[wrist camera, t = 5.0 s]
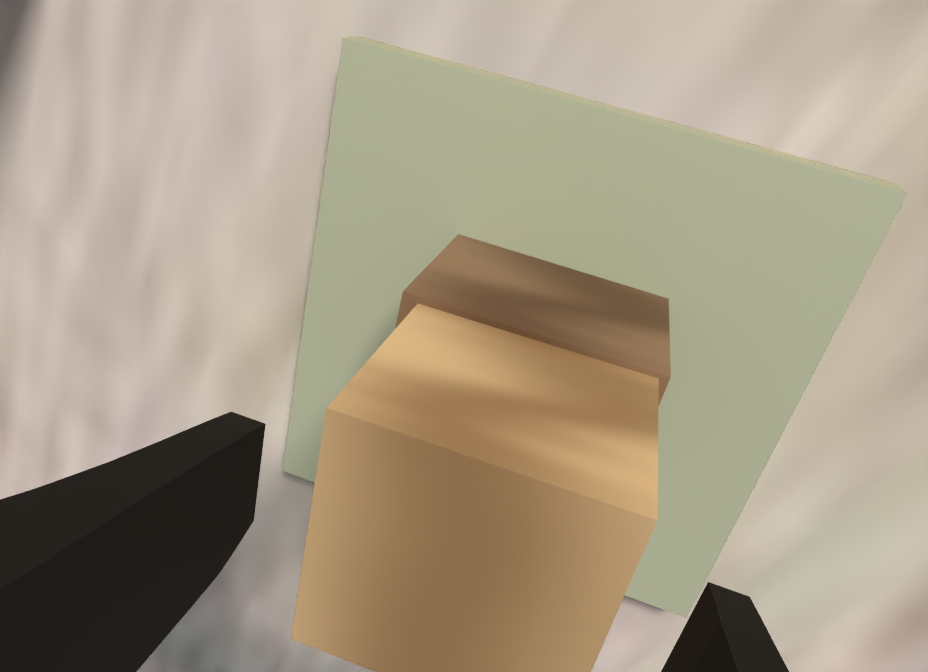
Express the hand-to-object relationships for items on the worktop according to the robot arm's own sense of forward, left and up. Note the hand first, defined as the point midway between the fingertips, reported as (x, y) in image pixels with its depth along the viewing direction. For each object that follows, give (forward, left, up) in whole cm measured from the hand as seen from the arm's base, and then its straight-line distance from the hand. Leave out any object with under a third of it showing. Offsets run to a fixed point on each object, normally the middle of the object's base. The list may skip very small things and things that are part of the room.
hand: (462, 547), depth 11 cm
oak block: (0, 0, -3) cm, 3 cm away
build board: (0, 0, -8) cm, 8 cm away
